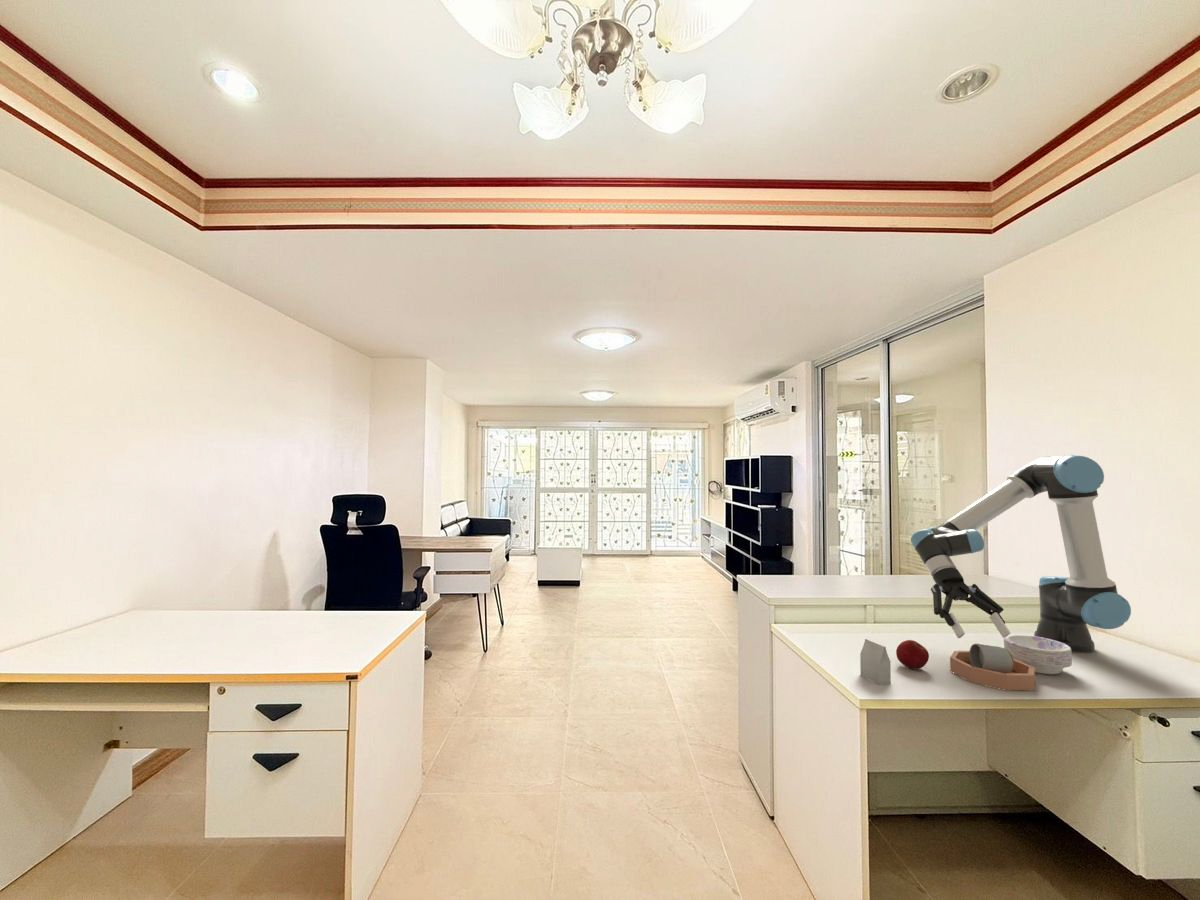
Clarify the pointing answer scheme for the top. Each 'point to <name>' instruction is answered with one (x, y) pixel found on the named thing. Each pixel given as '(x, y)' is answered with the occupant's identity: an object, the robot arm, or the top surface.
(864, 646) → the tea bag
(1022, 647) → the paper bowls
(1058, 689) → the top surface
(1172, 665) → the top surface
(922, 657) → the apple
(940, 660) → the top surface
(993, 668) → the ceramic mug
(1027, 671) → the terracotta bowl
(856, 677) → the top surface
